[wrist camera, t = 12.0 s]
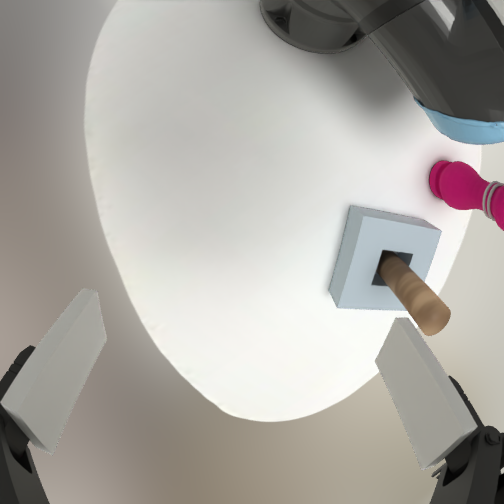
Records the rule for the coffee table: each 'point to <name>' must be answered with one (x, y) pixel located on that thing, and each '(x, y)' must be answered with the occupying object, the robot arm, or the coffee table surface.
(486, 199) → the pepper mill
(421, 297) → the dowel
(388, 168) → the coffee table surface
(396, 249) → the bore block
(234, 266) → the coffee table surface
